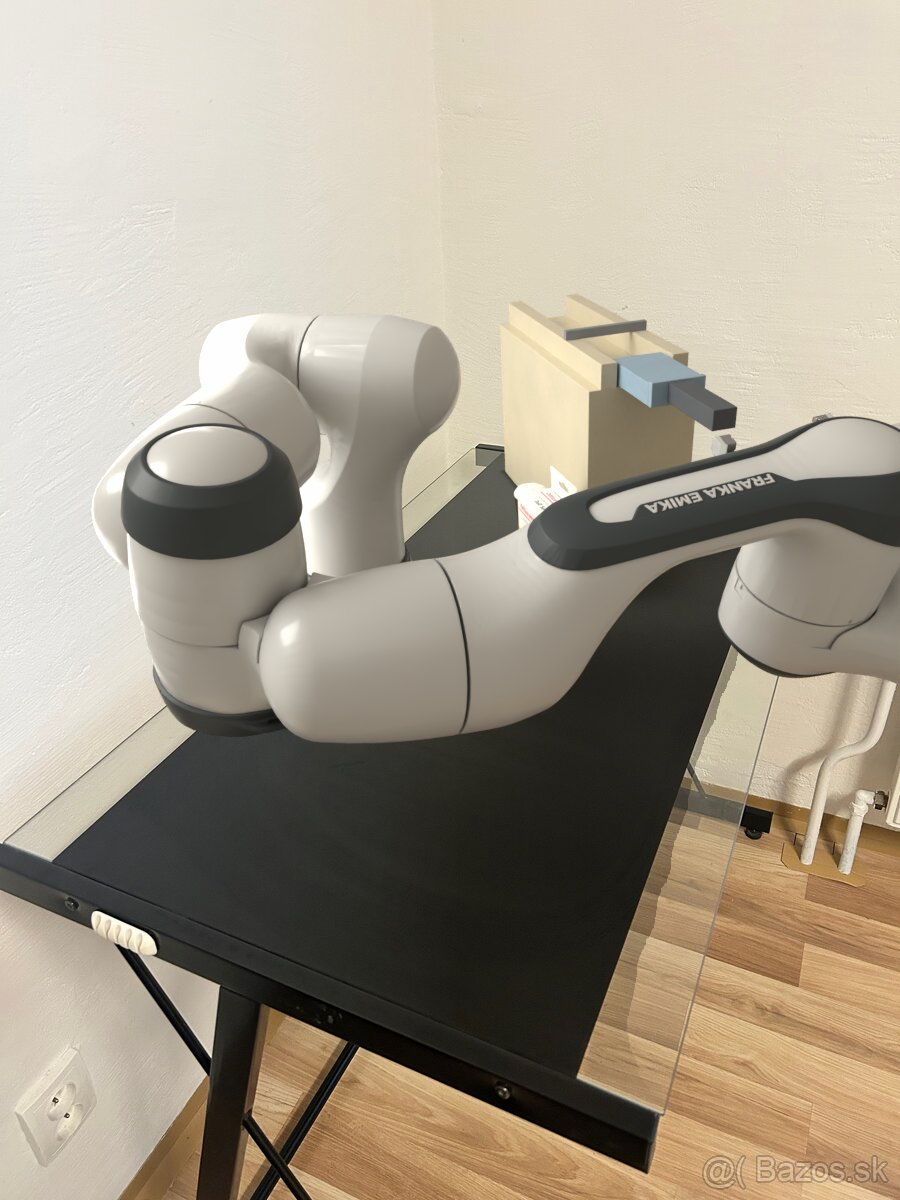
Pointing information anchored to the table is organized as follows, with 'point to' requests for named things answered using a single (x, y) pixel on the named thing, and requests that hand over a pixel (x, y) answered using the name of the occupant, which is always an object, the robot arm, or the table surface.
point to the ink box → (542, 498)
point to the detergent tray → (674, 389)
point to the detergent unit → (583, 399)
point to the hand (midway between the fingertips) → (769, 431)
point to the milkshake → (525, 488)
